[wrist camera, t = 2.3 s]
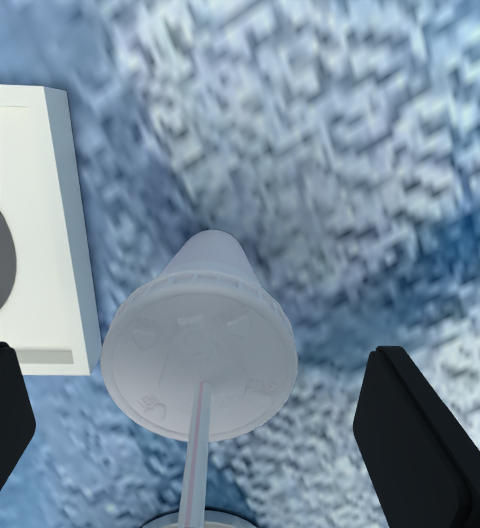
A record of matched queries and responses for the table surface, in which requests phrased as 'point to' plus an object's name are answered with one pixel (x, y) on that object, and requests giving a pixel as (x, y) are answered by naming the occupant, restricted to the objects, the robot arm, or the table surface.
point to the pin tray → (44, 238)
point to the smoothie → (200, 355)
